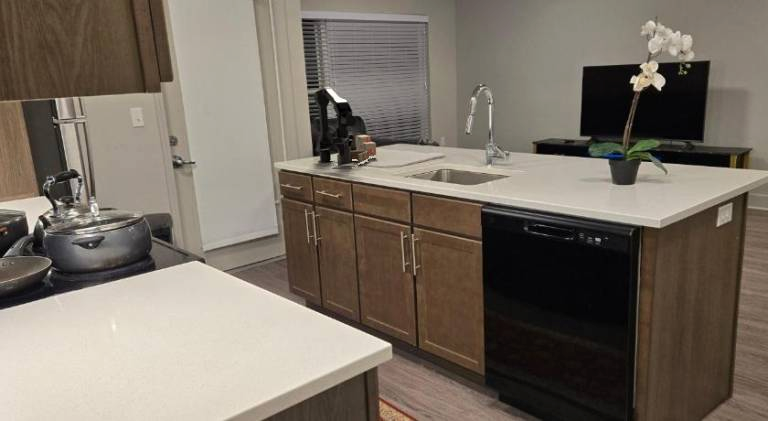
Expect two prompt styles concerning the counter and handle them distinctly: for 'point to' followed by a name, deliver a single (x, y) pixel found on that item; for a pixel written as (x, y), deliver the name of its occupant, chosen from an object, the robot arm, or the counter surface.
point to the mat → (343, 167)
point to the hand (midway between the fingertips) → (344, 154)
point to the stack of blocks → (365, 144)
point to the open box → (357, 156)
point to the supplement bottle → (345, 155)
